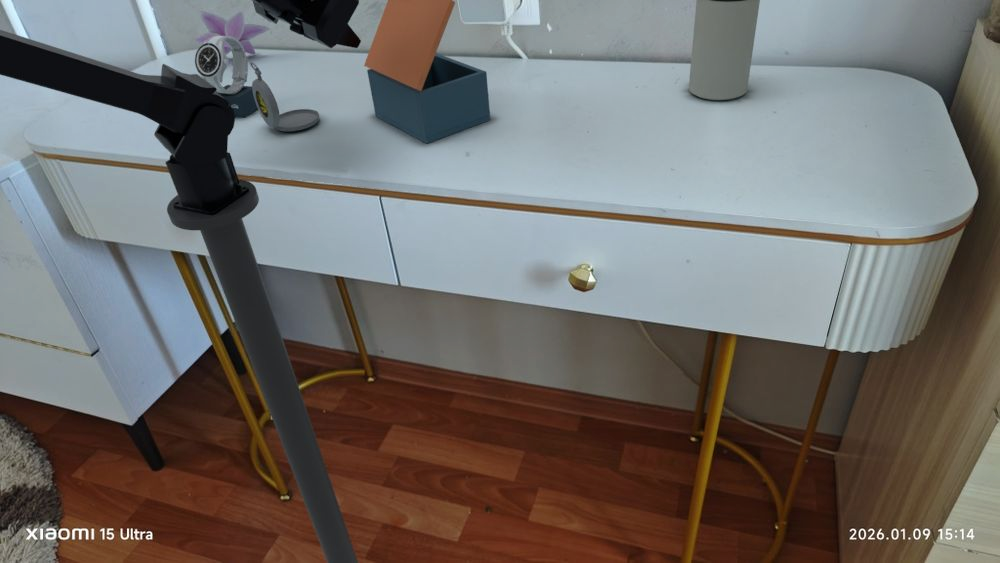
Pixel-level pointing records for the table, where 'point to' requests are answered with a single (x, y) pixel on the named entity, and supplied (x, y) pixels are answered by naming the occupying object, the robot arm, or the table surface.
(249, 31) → the lily
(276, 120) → the pocket watch
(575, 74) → the table surface
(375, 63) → the box lid
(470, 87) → the storage box
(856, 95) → the table surface
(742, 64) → the travel mug
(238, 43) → the watch
